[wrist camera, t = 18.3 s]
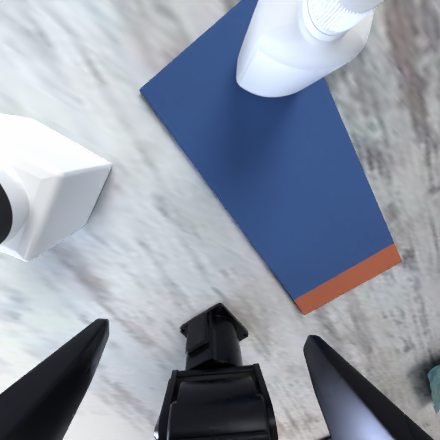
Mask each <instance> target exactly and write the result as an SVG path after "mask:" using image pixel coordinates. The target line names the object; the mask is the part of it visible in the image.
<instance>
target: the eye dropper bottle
mask: <svg viewBox="0 0 440 440" xmlns="http://www.w3.org/2000/svg"><path fill="white" fill-rule="evenodd" d="M383 1H384V0H259V1H258V3H257V6H256V8H255V11H254V13H253V16H252V19H251V22H250V24H249V27H248V30H247V33H246V36H245V38H244V41H243V44H242V47H241V50H240V53H239V56H238V61H237V72H236V80H237V83H238V84H239V86H240V87H242V88H243V89H245V90H247V91H248V92H251V93H253V94H256V95H259V96H263V97H282V96H287V95H291V94H293V93H296V92H298V91H300V90H302V89H304V88H306V87H307V86H309V85H311V84H312V83H314V82H316V81H318V80H319V79H321V78H323V77H324V76H326V75H328V74H329V73H331V72H333V71H334V70H336V69H338V68H340V67H341V66H343V65H344V64H346V63H347V62H349V61H351V60H352V59H353V58H355V57H356V56H357V55H358V54H359V53H360V52H361V51H362V49H363V48H364V46H365V44H366V41H367V38H368V35H369V32H370V28H371V24H372V20H373V15H374V10H375V9H376V8H377V7H378V6H379V5H380V4H381V3H382V2H383Z"/></svg>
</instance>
